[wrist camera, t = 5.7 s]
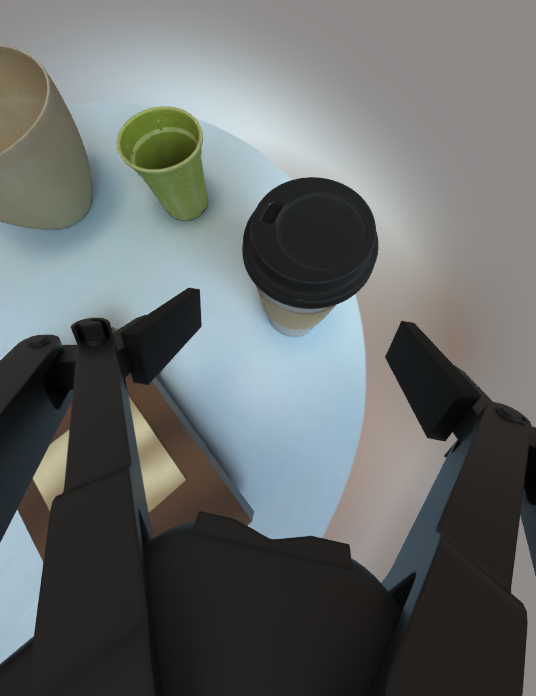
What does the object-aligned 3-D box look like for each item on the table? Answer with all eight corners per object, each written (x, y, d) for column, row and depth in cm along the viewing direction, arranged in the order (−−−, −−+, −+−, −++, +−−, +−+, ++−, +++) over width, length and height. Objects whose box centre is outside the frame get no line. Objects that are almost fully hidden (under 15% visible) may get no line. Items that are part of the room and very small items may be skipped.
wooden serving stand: (255, 502, 24) (251, 522, 20) (127, 623, 22) (94, 673, 18) (134, 336, 29) (111, 325, 25) (18, 423, 27) (-27, 426, 23)
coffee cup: (255, 283, 30) (237, 171, 16) (327, 279, 30) (376, 163, 16) (257, 353, 28) (239, 299, 14) (335, 350, 28) (402, 290, 13)
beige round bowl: (37, 284, 31) (-107, 211, 19) (-17, 202, 35) (-165, 98, 23) (148, 210, 34) (80, 105, 22) (87, 141, 37) (1, 18, 25)
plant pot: (212, 171, 35) (193, 98, 27) (226, 222, 33) (209, 159, 24) (152, 186, 35) (112, 116, 26) (161, 238, 32) (121, 179, 24)
